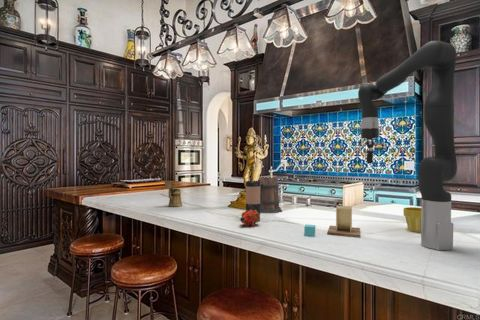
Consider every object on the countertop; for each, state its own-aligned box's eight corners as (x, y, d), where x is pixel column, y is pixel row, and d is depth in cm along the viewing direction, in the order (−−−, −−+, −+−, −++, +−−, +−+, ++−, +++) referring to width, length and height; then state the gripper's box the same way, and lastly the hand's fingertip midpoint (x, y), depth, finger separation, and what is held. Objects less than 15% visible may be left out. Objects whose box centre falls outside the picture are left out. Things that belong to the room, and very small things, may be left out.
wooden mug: (160, 207, 192) (160, 179, 191) (174, 204, 204) (174, 178, 203) (171, 208, 188) (171, 180, 187) (185, 205, 199) (185, 178, 199)
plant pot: (398, 229, 137) (398, 207, 137) (413, 227, 141) (413, 206, 141) (419, 234, 128) (419, 211, 127) (435, 232, 132) (435, 210, 131)
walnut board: (329, 227, 140) (329, 225, 140) (359, 230, 135) (359, 227, 135) (327, 234, 128) (327, 232, 128) (360, 237, 123) (360, 235, 123)
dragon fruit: (260, 226, 148) (243, 234, 139) (249, 214, 152) (232, 222, 144) (267, 214, 143) (249, 222, 135) (255, 202, 148) (238, 209, 139)
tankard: (263, 207, 194) (263, 176, 193) (287, 209, 184) (287, 177, 184) (243, 213, 174) (243, 178, 174) (269, 216, 165) (269, 180, 165)
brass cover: (337, 227, 135) (337, 205, 135) (351, 229, 133) (351, 206, 133) (336, 231, 130) (336, 207, 129) (351, 232, 127) (351, 208, 127)
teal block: (305, 233, 129) (305, 224, 129) (315, 234, 128) (315, 225, 128) (304, 236, 126) (304, 226, 126) (314, 236, 124) (314, 227, 124)
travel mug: (263, 219, 157) (263, 181, 157) (253, 221, 151) (253, 182, 151) (252, 217, 162) (252, 180, 162) (242, 219, 157) (242, 181, 156)
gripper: (360, 129, 147) (360, 162, 147) (361, 126, 133) (360, 163, 134) (377, 129, 144) (377, 162, 144) (379, 126, 131) (379, 163, 131)
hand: (369, 163), depth 139 cm, fingers open, 8 cm apart
